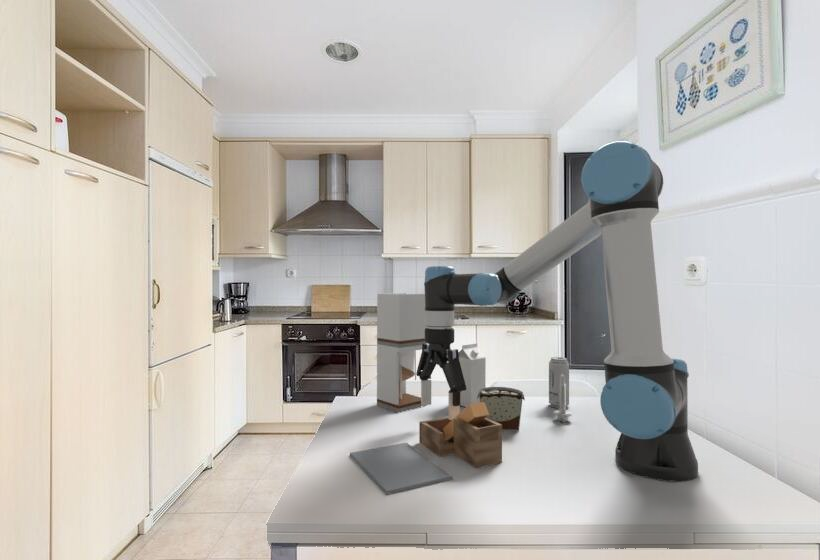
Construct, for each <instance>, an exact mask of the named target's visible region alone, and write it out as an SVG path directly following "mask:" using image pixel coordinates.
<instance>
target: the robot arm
mask: <svg viewBox="0 0 820 560" xmlns="http://www.w3.org/2000/svg"><path fill="white" fill-rule="evenodd" d="M580 177H581V180H580V181H581V182H580V183H581V186H582V188H583V191H584V193H585V195H586V196H587V197H588V202H586V204H585V205H583V206H582V207H581V208H579V209H578V210H577V211H575V212H574V213H573V214H571V215H570V216H569V217H568V218H566V219H565V220H563V222H561V223H560V224H558V225H557V226H556V227H554V228H553V229H551V231H549V232H548V233H547V234H545V235H544V236H542V237H541V238H539V240H537V241H536V242H535V243H534V244H531V246H530V247H528V248H526V249H525V250H524V251H523V252H521V253H520V254H519V255H518V256H516V257H515V258H513V259H512V260H511V261H509V262H508V263H507V264H505V266H503V267H502V268H500V269H499V270H498V271H496V272H495V273H486V272H479V273H456V271H455V268H454V267H453V266H448V265H441V266H438V265H436V266H434V265H433V266H432V265H431V266H427V267H426V269H425V272H424V283H423V286H424V294H425V326H427V328H425V342H426V343H425V344H422V350H421V353H420V358H419V362H418V365H417V370H416V372H415V375H416V377H419V379H420V397H421V405H422V406H423V407H425V406H424V405H427V406H430V405H432V374H433V372H434V369H436V366H439V368H440V369H442V371H443V374H444V376H445V380H446V382H447V384H448V387H449V390H448V417H449V420H453V419H454V418H455V417H456V416H457V415H458V414H459V413H460V412H461V410H460V408H461V405H460V392H461V391H464V390H466V384H465V381H464V377H463V373H462V369H461V365H460V361H459V352H460V351H459V349H457V348H456V349H455V348H454V349H452V348H451V344H453V343H454V342H455V329H454V328H453V327H454V325H455V305H464V306H465V305H467V306H479V307H484V306H485V307H486V306H494V305H495V304H500V305H503V304H508V303H510V302H513V301H514V300H516V298H518V297H519V294H520V292H521V291H523V290H524V289H526V288H527V287H528V286H530V285H531V284H533V283H534V282H536V281H537V280H538V279H540V278H541V277H542V276H544V275H546V274H547V273H548V272H550V271H552V269H554V268H556V267H557V266H558V265H560V264H562V263H563V262H564V261H566V260H567V259H568V258H570V257H571V256H573V255H574V254H575V253H577V252H579V251H580V250H581V249H582V248H584V247H585V246H587V245H588V244H590V243H591V242H593V241H594V240H596V239H598V238H599V237H600V236H601V245H602V247H601V248H602V256H603V258H602V259H603V267H604V268H603V270H604V281H605V282H604V283H605V291H606V302H607V303H606V304H607V313H608V314H607V315H608V322H609V323H608V324H609V325H608V326H609V337H610V339H609V340H610V347H611V351H610V352H609V354H608V355H607V356H606V357H605V358H604V360H603V366H604V378H605V379H604V380H605V384H604V386H603V388H602V391H601V392H600V393H601V394H600V400H599V401H600V407H601V410H602V414H603V416H604V417H605V419H606V420H607V422H608V423H609V424H610V426H612V427H613V428H614V429H616V431H617V432H619V433H620V435H619V439H618V441H617V444H616V445H615V457H614V458H615V463H617V464H618V465H619V466H620V467H621V468H623V469H624V470H626V471H629V472H631V473H632V474H633V473H634V474H635V475H638V476H642V477H645V478H649V479H652V480H653V479H654V480H660V481H665V482H667V481H668V482H687V481H692V480H694V479H696V478H697V477H698V475H699V462H698V460H697V457H696V454H695V450H694V448H693V446H692V443H691V439H690V438H689V433H688V432H689V429H688V427H689V426H688V425H689V422H688V420H689V419H688V418H689V417H688V415H689V414H688V411H689V410H688V408H689V407H688V403H689V402H688V378H689V376H690V375H689V371H688V364H687V362H686V361H685V360H683V359H680V358H671V357H670V356H669V355H668V354H666V352H665V351H664V348H663V338H662V327H661V318H660V317H661V316H660V306H659V295H658V284H657V275H656V266H655V265H656V263H655V254H654V243H653V234H652V233H653V232H652V221H653V220H654V219H655V217H656V216H657V215H658V214H659V213H660V208H659V197H660V195H661V193H662V191H663V186H664V177H663V173H662V170H661V168H660V166H659V165H657V163H656V162H655V161H654V160H653V159H652V158H651V155H650V154H649V152H648V151H647V150H646V149H645V148H643V147H642V146H640V145H637V144H635V143H634V142H629V141H621V140H620V141H613V142H610V143H607V144H604V145H602V146H601V147H599V148H598V149H596V150H595V151H594V152H593V153H592V154H591V155H590V156H589V157H588V159H587V160H586V162H585V163H584V166H583V167H582V171H581V176H580Z"/></svg>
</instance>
